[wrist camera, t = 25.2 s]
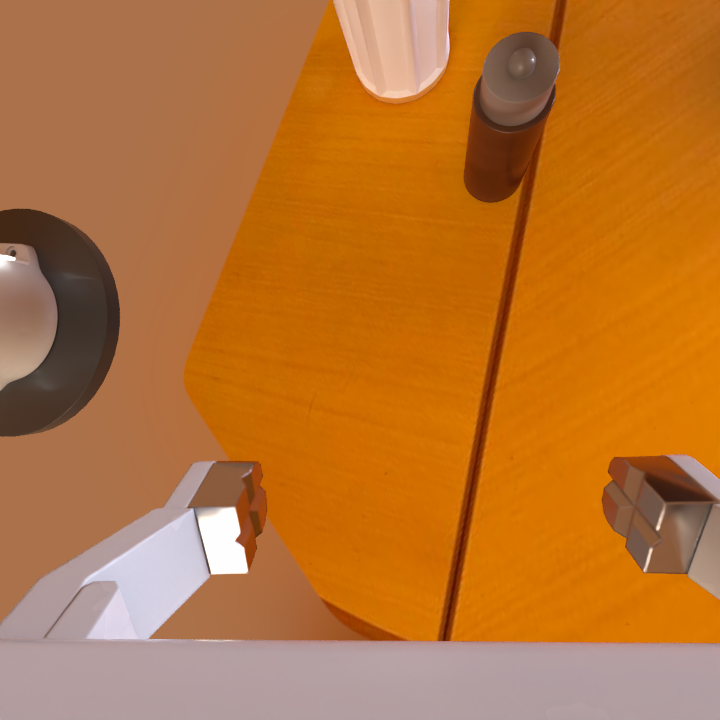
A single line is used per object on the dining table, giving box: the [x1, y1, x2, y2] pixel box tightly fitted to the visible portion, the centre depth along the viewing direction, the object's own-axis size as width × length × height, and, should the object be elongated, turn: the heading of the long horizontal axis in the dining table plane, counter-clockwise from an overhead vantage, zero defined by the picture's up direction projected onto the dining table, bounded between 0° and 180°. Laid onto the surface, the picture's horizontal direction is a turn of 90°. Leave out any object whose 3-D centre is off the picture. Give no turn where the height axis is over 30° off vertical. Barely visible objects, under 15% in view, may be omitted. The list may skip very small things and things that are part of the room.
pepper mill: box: [464, 32, 560, 202], centre depth 31 cm, size 5×5×14 cm
